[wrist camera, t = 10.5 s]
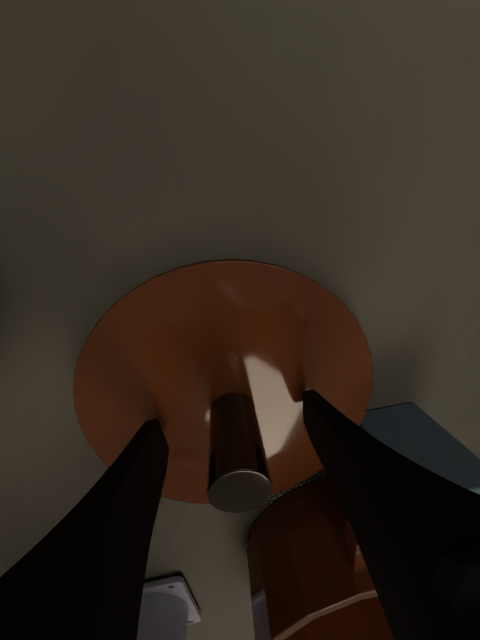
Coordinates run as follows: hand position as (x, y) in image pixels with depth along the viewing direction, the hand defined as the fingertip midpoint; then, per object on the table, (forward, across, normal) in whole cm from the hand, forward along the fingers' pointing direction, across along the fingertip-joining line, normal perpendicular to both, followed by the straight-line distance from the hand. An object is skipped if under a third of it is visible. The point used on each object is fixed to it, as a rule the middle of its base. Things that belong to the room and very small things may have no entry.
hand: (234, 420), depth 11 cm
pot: (+2, -6, +16) cm, 17 cm away
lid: (+1, 0, 0) cm, 1 cm away
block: (+2, -9, +5) cm, 11 cm away
